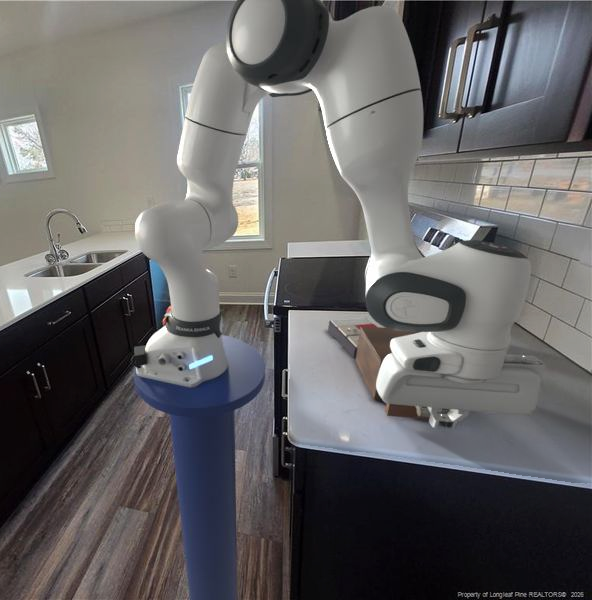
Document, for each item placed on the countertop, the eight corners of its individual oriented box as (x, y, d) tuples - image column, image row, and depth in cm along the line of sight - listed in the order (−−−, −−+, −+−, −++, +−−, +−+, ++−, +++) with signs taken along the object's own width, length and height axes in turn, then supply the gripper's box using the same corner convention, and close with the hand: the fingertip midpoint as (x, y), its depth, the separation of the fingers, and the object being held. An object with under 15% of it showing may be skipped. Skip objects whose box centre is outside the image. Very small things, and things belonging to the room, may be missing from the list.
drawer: (473, 443, 52) (486, 405, 50) (397, 435, 55) (405, 398, 52) (423, 377, 69) (430, 346, 66) (366, 374, 72) (371, 343, 69)
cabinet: (444, 406, 62) (456, 364, 58) (373, 400, 65) (381, 360, 61) (412, 364, 75) (421, 328, 72) (355, 361, 78) (360, 326, 74)
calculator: (356, 346, 77) (328, 318, 91) (353, 360, 79) (327, 331, 93) (400, 342, 78) (366, 315, 91) (396, 357, 80) (363, 328, 93)
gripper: (531, 345, 47) (504, 419, 52) (379, 338, 52) (367, 406, 57) (568, 369, 41) (533, 449, 46) (394, 359, 46) (379, 433, 51)
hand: (441, 426), depth 52 cm, fingers closed, pressing on drawer
